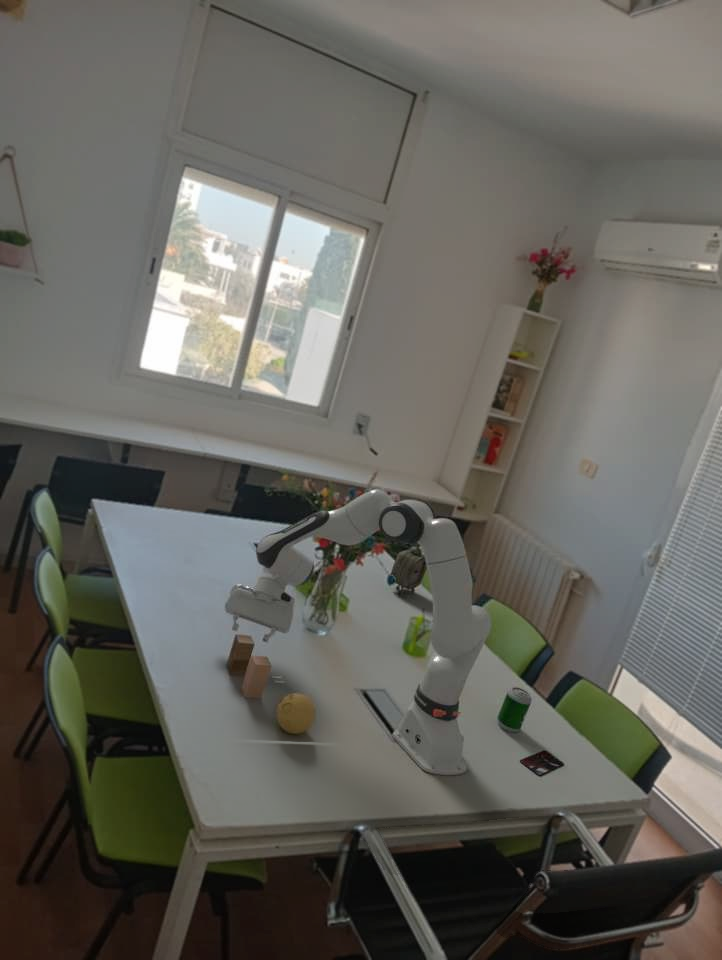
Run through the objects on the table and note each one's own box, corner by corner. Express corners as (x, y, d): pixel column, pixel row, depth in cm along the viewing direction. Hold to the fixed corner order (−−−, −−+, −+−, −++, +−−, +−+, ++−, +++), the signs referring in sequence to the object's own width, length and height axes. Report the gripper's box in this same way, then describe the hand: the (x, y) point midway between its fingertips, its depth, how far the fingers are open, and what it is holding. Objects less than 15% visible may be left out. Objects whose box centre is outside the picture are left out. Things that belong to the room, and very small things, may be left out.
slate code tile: (294, 689, 208) (295, 688, 208) (267, 687, 205) (268, 686, 205) (286, 674, 215) (287, 672, 215) (260, 672, 212) (261, 670, 212)
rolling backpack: (402, 599, 304) (421, 543, 299) (384, 589, 308) (402, 534, 303) (417, 593, 316) (436, 539, 311) (400, 584, 321) (418, 531, 315)
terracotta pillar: (261, 698, 198) (271, 665, 196) (245, 697, 196) (255, 664, 194) (257, 689, 202) (267, 656, 200) (241, 687, 200) (251, 655, 198)
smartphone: (565, 764, 216) (539, 775, 205) (564, 766, 216) (538, 778, 205) (544, 749, 220) (518, 760, 209) (544, 751, 220) (517, 762, 209)
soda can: (514, 737, 222) (528, 702, 219) (492, 724, 225) (505, 689, 223) (522, 729, 228) (536, 695, 226) (500, 716, 232) (514, 683, 229)
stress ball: (311, 735, 191) (305, 697, 196) (323, 726, 183) (317, 686, 188) (274, 740, 187) (269, 700, 192) (285, 730, 179) (279, 689, 184)
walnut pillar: (244, 675, 207) (254, 644, 204) (229, 674, 205) (239, 642, 203) (241, 667, 211) (250, 635, 208) (226, 665, 209) (235, 634, 206)
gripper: (234, 578, 219) (215, 619, 212) (299, 601, 218) (282, 643, 211) (234, 586, 225) (216, 627, 217) (298, 609, 223) (281, 651, 216)
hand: (249, 635), depth 214 cm, fingers open, 8 cm apart
